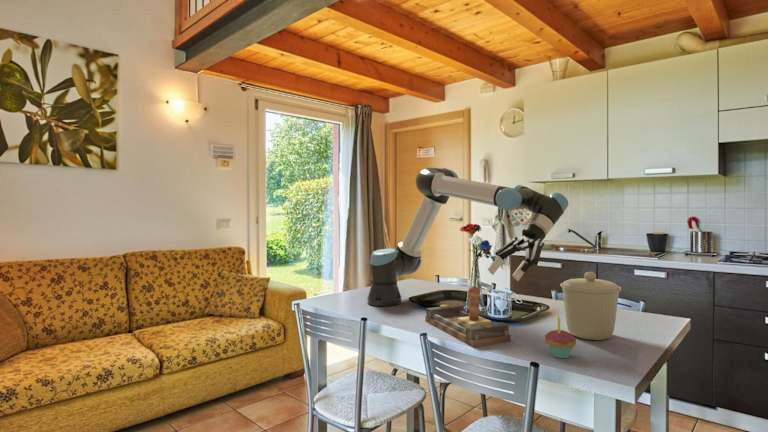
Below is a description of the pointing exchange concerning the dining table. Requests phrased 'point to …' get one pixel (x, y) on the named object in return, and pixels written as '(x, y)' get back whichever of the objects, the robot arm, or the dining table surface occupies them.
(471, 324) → the carriage
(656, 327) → the dining table surface
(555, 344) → the cupcake
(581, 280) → the canister
